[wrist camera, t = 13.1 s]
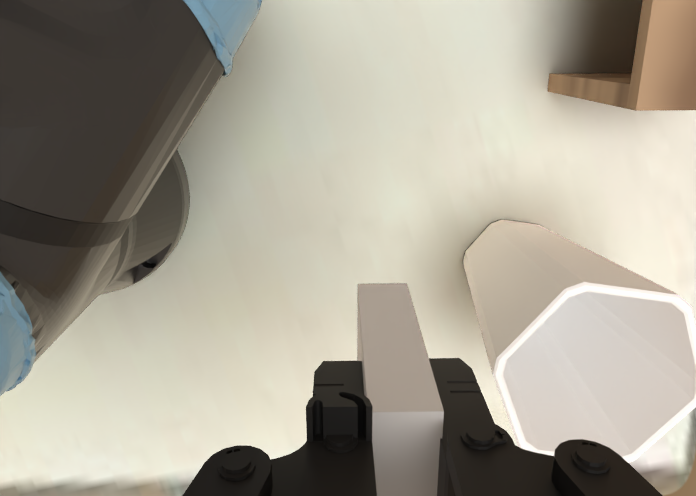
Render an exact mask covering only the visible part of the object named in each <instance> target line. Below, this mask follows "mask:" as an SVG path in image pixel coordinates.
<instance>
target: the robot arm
mask: <svg viewBox="0 0 696 496" xmlns="http://www.w3.org/2000/svg"><path fill="white" fill-rule="evenodd" d="M261 2H262V0H0V396H1V395H2V394H3V393H4V392H5V391H10V390H12V389H13V388H15V387H16V385H17V384H19V383H21V382H22V381H23V380H24V379H25V378H26V376H27V375H28V374H29V372H30V371H31V368H32V365H33V363H34V362H35V361H36V360H37V359H38V358H39V357H40V356H41V355H42V354H43V353H44V352H45V351H46V350H47V349H48V347H49V346H50V345H51V344H52V343H53V342H54V341H55V340H56V339H57V338H58V337H59V336H60V335H61V334H62V333H63V332H64V331H65V330H66V329H67V328H68V327H69V325H70V324H71V323H72V322H73V321H74V320H75V319H76V318H77V317H78V316H79V315H80V314H81V313H82V312H83V311H84V310H85V309H86V308H87V307H88V306H89V304H90V303H91V302H92V301H93V300H94V299H95V298H96V297H97V296H98V295H100V294H105V293H109V292H113V291H117V290H120V289H123V288H126V287H129V286H131V285H133V284H135V283H137V282H139V281H141V280H143V279H144V278H146V277H147V276H149V275H150V274H151V273H153V272H154V271H155V270H156V269H157V268H158V267H159V266H160V265H161V264H162V263H163V262H164V261H165V260H166V259H167V257H168V256H169V255H170V254H171V252H172V251H173V250H174V248H175V247H176V245H177V244H178V242H179V240H180V239H181V236H182V234H183V232H184V229H185V226H186V223H187V219H188V213H189V203H190V195H189V185H188V179H187V175H186V171H185V168H184V165H183V162H182V160H181V158H180V155H179V153H178V151H177V150H176V149H177V147H178V146H179V144H180V142H181V141H182V139H183V138H184V136H185V134H186V133H187V131H188V129H189V128H190V126H191V125H192V123H193V121H194V120H195V118H196V116H197V115H198V113H199V112H200V110H201V108H202V107H203V105H204V103H205V102H206V100H207V99H208V97H209V95H210V94H211V92H212V90H213V89H214V87H215V86H216V84H217V82H218V81H219V79H220V77H221V76H224V77H227V76H228V75H229V74H230V72H231V70H232V65H233V62H232V59H233V57H234V55H235V54H236V52H237V50H238V48H239V46H240V45H241V43H242V41H243V39H244V38H245V36H246V34H247V32H248V30H249V29H250V27H251V25H252V23H253V21H254V20H255V18H256V16H257V14H258V12H259V9H260V5H261ZM306 422H307V441H306V443H305V444H304V445H303V446H302V447H301V448H300V449H299V450H297V451H295V452H293V453H291V454H289V455H286V456H283V457H280V458H276V459H272V460H270V458H269V456H268V455H267V454H266V453H265V452H263V451H262V450H261V449H258V448H255V447H252V446H234V447H229V448H225V449H223V450H221V451H219V452H217V453H215V454H213V455H212V456H211V457H210V458H209V459H208V460H207V461H206V462H205V463H204V465H203V466H202V468H201V469H200V471H199V472H198V474H197V475H196V477H195V478H194V480H193V481H192V483H191V484H190V485H189V487H188V488H187V490H186V491H185V493H184V494H183V496H662V495H661V494H660V493H659V492H658V491H657V490H656V489H655V488H654V487H653V486H652V485H651V484H650V483H649V482H648V481H647V480H645V479H644V478H643V477H642V476H641V475H640V474H639V473H638V472H637V471H636V470H635V469H634V468H633V467H632V466H631V465H630V464H629V463H628V462H626V461H625V460H624V459H623V458H622V457H621V456H620V455H619V454H618V453H616V452H615V451H613V450H612V449H611V448H609V447H607V446H605V445H602V444H600V443H597V442H594V441H589V440H584V439H575V440H568V441H565V442H562V443H560V444H559V445H558V447H557V448H556V449H555V453H554V456H551V455H546V454H541V453H536V452H532V451H528V450H525V449H522V448H520V447H517V446H515V444H514V442H513V440H512V438H511V437H510V435H509V434H508V433H507V431H505V430H504V429H502V428H501V427H499V426H498V425H496V424H494V421H493V419H492V416H491V414H490V411H489V409H488V407H487V404H486V402H485V399H484V397H483V395H482V393H481V390H480V387H479V385H478V383H477V380H476V378H475V375H474V373H473V370H472V368H470V367H469V366H468V365H467V364H466V363H464V362H463V361H462V360H461V359H460V358H440V359H429V358H428V355H427V351H426V348H425V344H424V341H423V337H422V334H421V330H420V327H419V324H418V320H417V317H416V313H415V310H414V306H413V303H412V299H411V296H410V292H409V289H408V286H407V283H390V284H358V338H357V361H323V362H322V364H321V365H320V366H319V367H318V368H317V370H316V371H315V374H314V387H313V397H312V398H311V399H310V400H309V401H308V404H307V406H306Z"/></svg>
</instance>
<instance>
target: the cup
mask: <svg viewBox="0 0 696 496" xmlns="http://www.w3.org/2000/svg"><path fill="white" fill-rule="evenodd" d="M463 265H464V269H465V272H466V276H467V280H468V284H469V287H470V291H471V295H472V299H473V302H474V306H475V310H476V314H477V317H478V321H479V325H480V329H481V332H482V336H483V340H484V344H485V348H486V351H487V355H488V359H489V363H490V366H491V370H492V374H493V377H494V380H495V382H496V385H497V388H498V391H499V393H500V396H501V399H502V402H503V405H504V407H505V410H506V413H507V416H508V419H509V421H510V424H511V427H512V430H513V433H514V435H515V438H516V441H517V444H518V447H520V448H522V449H525V450H528V451H532V452H536V453H541V454H546V455H551V456H554V453H555V449H556V448H557V447H558V445H559V444H560V443H562V442H565V441H568V440H575V439H584V440H589V441H594V442H597V443H600V444H602V445H605V446H607V447H609V448H611V449H612V450H613V451H615V452H616V453H618V454H619V455H620V456H621V457H622V458H623V459H624V460H625V461H626V462H628V463H629V462H632V461H635V460H636V459H637V458H638V457H639V456H640V455H641V454H643V453H644V452H645V451H646V450H647V449H648V448H649V447H651V446H652V445H653V444H654V443H655V442H656V441H657V440H659V439H660V438H661V437H662V436H663V435H664V434H665V433H666V432H668V431H669V430H670V429H671V428H672V427H673V426H674V425H676V424H677V423H678V422H679V421H680V420H681V419H682V418H684V417H685V416H686V415H687V414H688V413H689V412H690V411H692V410H693V409H694V408H695V407H696V322H695V317H694V313H693V308H692V305H690V304H689V303H688V302H687V301H686V300H685V299H683V298H682V297H681V296H680V295H678V294H676V293H674V292H672V291H670V290H668V289H666V288H664V287H662V286H660V285H658V284H656V283H654V282H652V281H650V280H648V279H646V278H644V277H642V276H640V275H638V274H636V273H634V272H632V271H630V270H628V269H626V268H624V267H622V266H620V265H618V264H616V263H614V262H612V261H610V260H608V259H606V258H604V257H602V256H600V255H598V254H596V253H594V252H592V251H590V250H588V249H586V248H584V247H582V246H580V245H578V244H576V243H574V242H572V241H570V240H568V239H566V238H564V237H562V236H560V235H558V234H556V233H554V232H552V231H550V230H548V229H546V228H544V227H542V226H540V225H538V224H531V223H524V222H517V221H510V220H503V219H502V220H499V221H497V222H494V223H491V224H490V225H489V226H488V227H487V228H486V229H485V230H484V231H483V232H482V234H481V235H480V236H479V237H478V238H477V239H476V240H475V241H474V242H473V244H472V245H471V246H470V247H469V248H468V249H467V250H466V251H465V255H464V260H463Z"/></svg>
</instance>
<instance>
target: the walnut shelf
mask: <svg viewBox="0 0 696 496" xmlns="http://www.w3.org/2000/svg"><path fill="white" fill-rule="evenodd" d="M548 92H553V93H558V94H562V95H567V96H572V97H576V98H581V99H585V100H590V101H595V102H599V103H604V104H609V105H613V106H618V107H622V108H627V109H632V110H696V0H643V1H642V8H641V15H640V21H639V28H638V35H637V41H636V48H635V55H634V62H633V68H632V73H592V74H549V83H548Z"/></svg>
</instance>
